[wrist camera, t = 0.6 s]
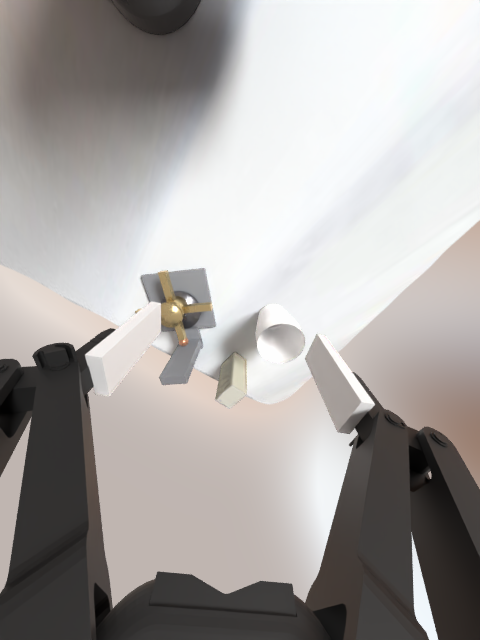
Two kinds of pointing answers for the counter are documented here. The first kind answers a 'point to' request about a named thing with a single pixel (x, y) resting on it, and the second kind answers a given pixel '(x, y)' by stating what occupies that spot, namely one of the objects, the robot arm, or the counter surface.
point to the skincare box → (232, 381)
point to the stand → (187, 355)
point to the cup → (278, 335)
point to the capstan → (179, 308)
